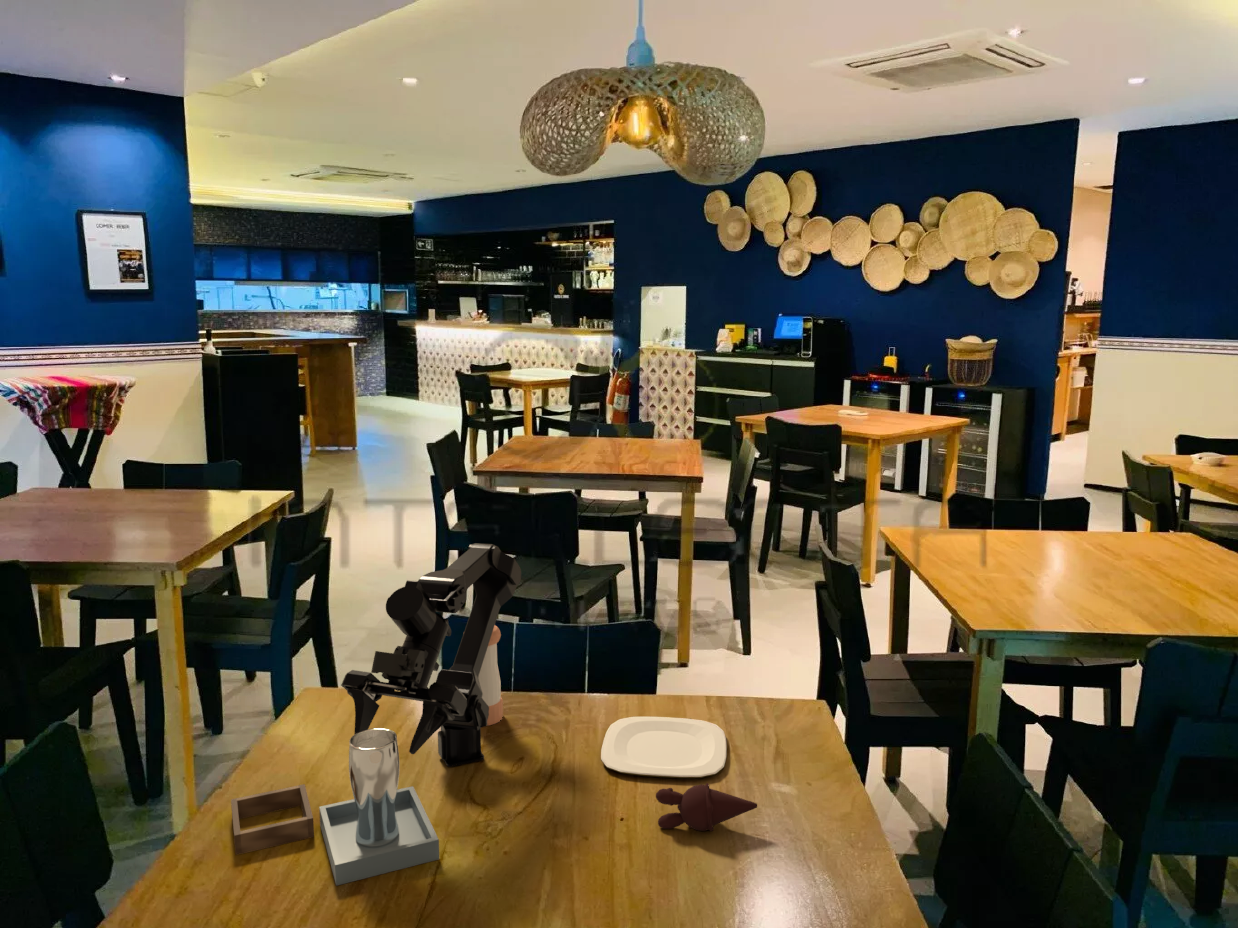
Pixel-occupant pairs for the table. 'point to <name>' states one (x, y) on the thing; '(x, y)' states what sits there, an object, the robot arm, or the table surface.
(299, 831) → the rectangular frame
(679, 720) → the plate
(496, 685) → the salt shaker
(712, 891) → the table surface
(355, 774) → the silver metal cup
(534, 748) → the table surface
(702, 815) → the icecream
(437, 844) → the tray
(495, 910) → the table surface
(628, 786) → the table surface
